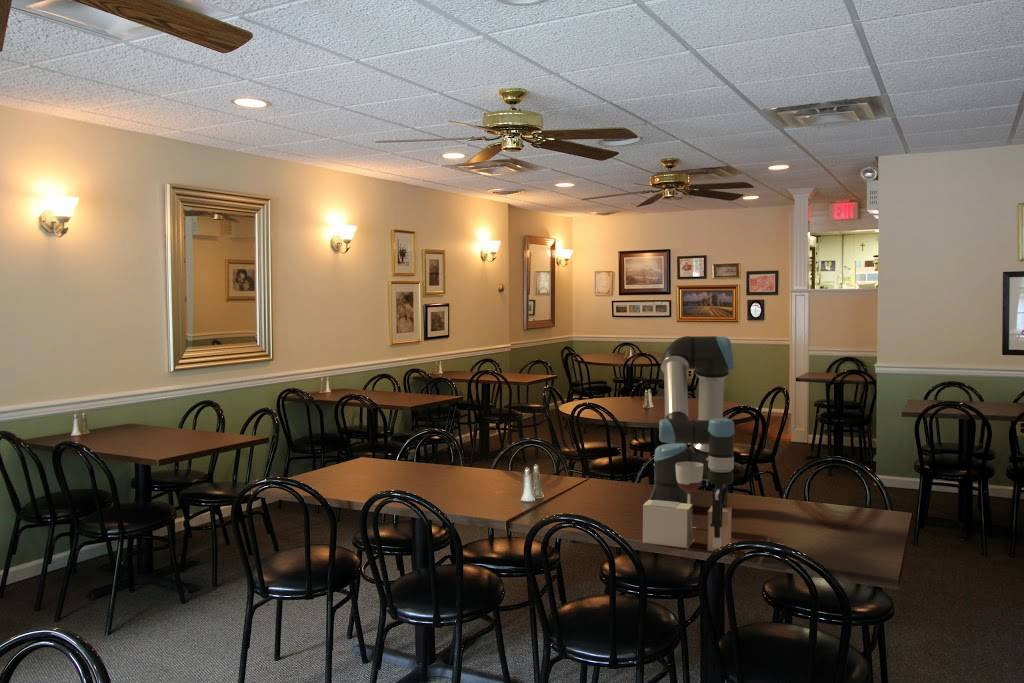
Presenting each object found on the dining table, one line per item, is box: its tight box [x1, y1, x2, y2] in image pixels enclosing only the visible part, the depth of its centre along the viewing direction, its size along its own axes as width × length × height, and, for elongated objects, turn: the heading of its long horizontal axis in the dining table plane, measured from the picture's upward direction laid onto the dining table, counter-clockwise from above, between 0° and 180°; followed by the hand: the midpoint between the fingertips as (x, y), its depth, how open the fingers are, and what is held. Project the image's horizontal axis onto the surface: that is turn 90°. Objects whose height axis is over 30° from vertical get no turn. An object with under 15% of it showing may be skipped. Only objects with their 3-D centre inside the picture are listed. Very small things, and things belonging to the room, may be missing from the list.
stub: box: [706, 505, 733, 552], centre depth 245 cm, size 7×6×12 cm
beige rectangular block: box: [642, 499, 694, 549], centre depth 251 cm, size 7×14×12 cm, turn 67°
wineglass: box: [676, 462, 703, 529], centre depth 267 cm, size 9×10×22 cm
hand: (719, 543), depth 245 cm, fingers closed on stub, 7 cm apart
